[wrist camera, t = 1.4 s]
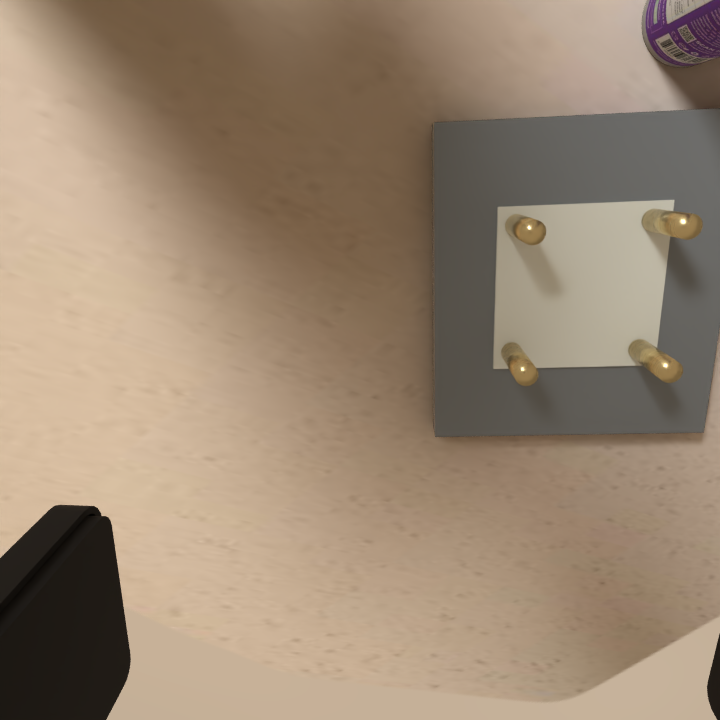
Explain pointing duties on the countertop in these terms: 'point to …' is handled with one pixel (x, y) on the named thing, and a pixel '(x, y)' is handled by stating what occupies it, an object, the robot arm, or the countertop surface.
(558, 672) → the countertop surface
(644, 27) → the container
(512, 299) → the plate
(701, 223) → the standoffs
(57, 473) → the countertop surface
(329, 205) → the countertop surface
